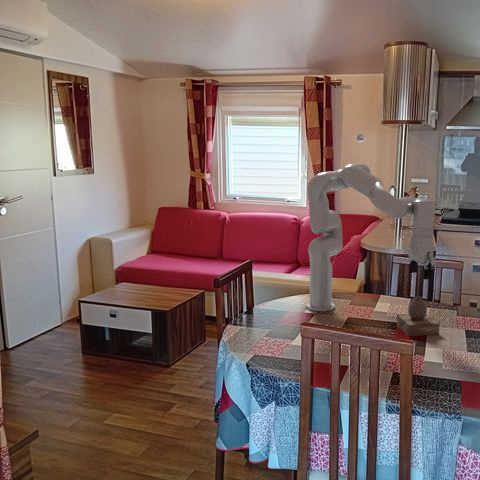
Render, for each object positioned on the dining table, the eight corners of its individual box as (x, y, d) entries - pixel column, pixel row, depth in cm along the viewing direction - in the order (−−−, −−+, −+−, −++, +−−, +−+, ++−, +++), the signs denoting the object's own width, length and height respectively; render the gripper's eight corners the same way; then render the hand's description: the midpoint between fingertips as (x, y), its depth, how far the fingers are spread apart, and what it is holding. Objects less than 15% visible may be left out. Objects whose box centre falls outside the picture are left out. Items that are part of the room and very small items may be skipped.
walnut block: (396, 326, 218) (397, 314, 217) (425, 325, 218) (426, 313, 217) (408, 337, 206) (408, 325, 205) (438, 336, 207) (439, 323, 206)
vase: (428, 321, 207) (429, 299, 206) (409, 321, 208) (410, 299, 207) (424, 316, 214) (425, 294, 213) (406, 315, 215) (407, 294, 213)
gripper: (401, 228, 212) (399, 270, 215) (426, 236, 195) (423, 282, 199) (419, 227, 213) (416, 269, 217) (445, 235, 197) (442, 281, 200)
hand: (420, 275), depth 208 cm, fingers open, 9 cm apart
